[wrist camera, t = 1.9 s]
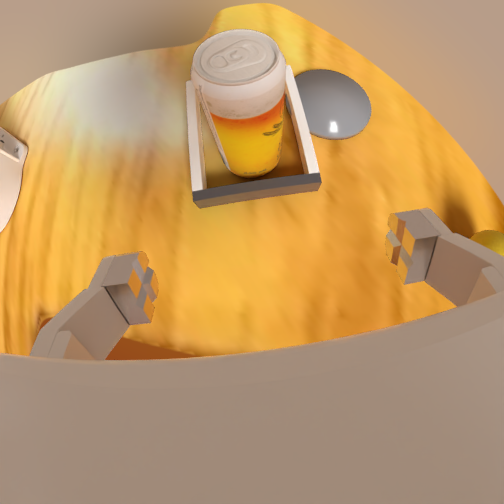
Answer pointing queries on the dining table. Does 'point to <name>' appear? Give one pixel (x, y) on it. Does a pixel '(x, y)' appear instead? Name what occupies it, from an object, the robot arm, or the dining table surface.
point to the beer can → (242, 98)
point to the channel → (260, 187)
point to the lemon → (490, 240)
